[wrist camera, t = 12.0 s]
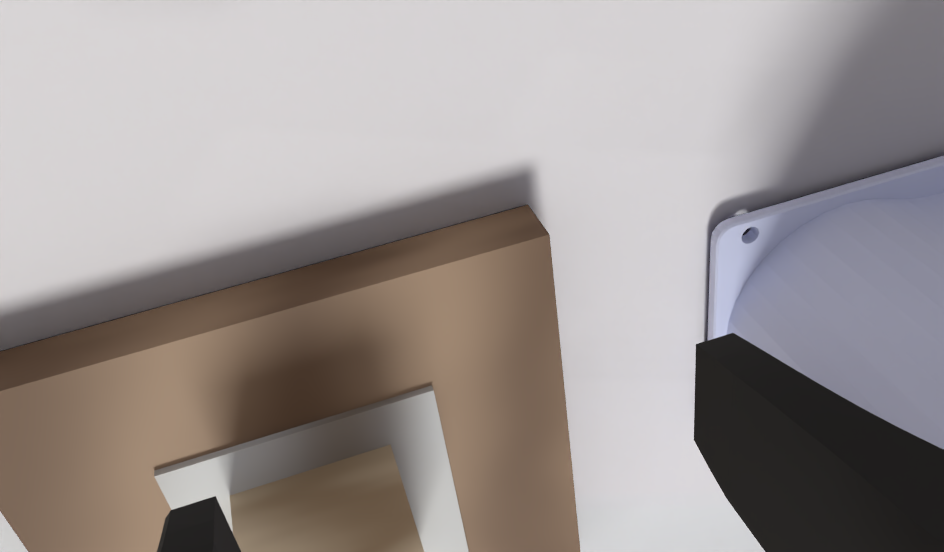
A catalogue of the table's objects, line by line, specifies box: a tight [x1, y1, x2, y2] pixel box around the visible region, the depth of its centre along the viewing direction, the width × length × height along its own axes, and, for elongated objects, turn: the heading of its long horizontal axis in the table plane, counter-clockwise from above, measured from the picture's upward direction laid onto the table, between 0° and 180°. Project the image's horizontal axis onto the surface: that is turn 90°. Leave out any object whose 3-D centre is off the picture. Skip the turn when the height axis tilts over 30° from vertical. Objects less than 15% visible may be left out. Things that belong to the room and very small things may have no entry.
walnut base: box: [0, 205, 580, 552], centre depth 24 cm, size 14×14×2 cm
